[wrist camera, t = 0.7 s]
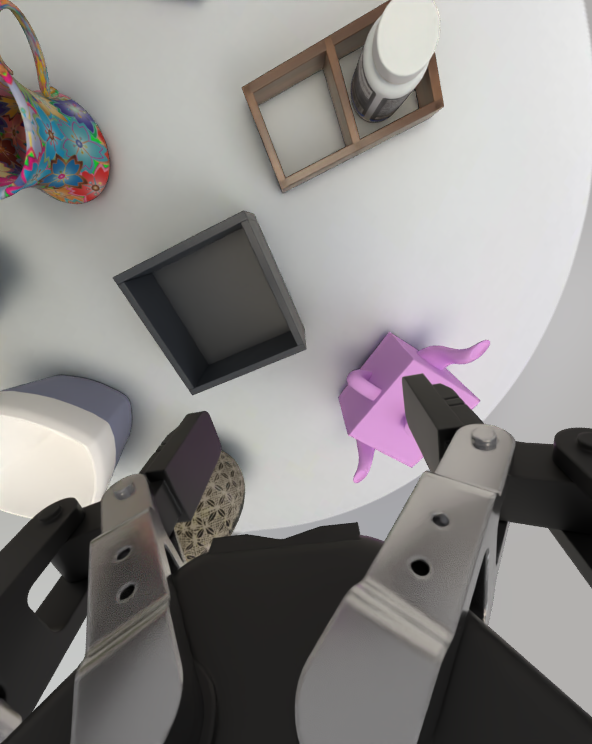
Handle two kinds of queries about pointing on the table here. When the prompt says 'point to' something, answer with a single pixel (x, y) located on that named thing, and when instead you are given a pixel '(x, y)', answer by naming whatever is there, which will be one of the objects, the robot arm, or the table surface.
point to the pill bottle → (394, 57)
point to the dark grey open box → (216, 304)
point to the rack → (337, 96)
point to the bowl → (59, 442)
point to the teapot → (396, 397)
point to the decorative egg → (214, 509)
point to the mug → (47, 136)
